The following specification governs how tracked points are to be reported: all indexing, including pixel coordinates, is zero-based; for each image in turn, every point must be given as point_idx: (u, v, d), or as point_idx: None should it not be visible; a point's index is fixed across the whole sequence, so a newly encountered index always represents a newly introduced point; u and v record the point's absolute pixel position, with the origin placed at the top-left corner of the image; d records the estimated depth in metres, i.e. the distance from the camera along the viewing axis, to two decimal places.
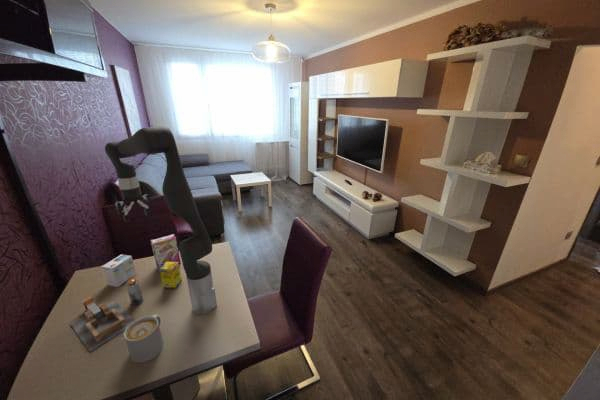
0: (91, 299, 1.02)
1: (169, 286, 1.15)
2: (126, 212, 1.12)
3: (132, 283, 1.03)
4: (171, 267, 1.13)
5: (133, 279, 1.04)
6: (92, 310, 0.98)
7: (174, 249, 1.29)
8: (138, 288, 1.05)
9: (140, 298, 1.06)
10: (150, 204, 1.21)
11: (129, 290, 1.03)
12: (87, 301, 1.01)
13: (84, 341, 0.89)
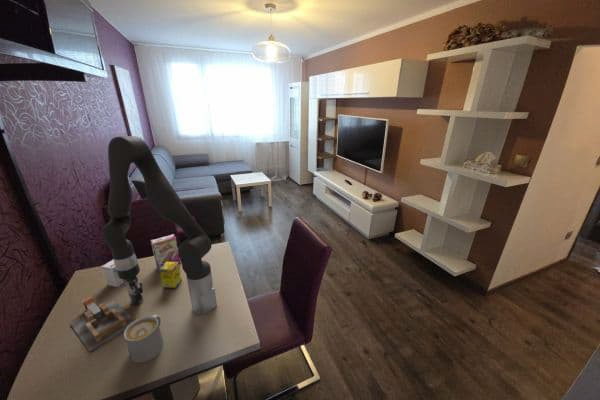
0: (91, 299, 1.02)
1: (169, 286, 1.15)
2: None
3: None
4: (171, 267, 1.13)
5: None
6: (92, 310, 0.98)
7: (174, 249, 1.29)
8: None
9: None
10: None
11: (129, 290, 1.03)
12: (87, 301, 1.01)
13: (84, 341, 0.89)
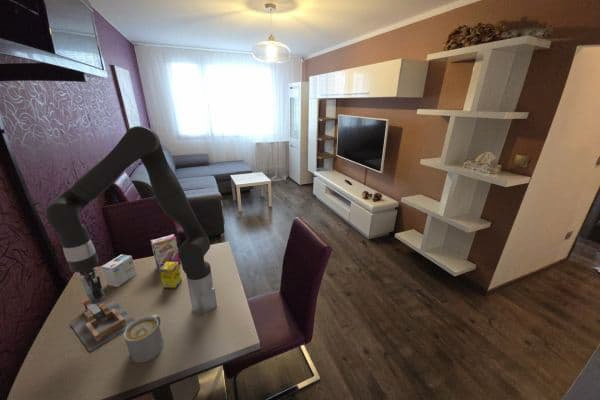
0: None
1: (169, 286, 1.15)
2: None
3: None
4: (171, 267, 1.13)
5: None
6: (92, 310, 0.98)
7: (174, 249, 1.29)
8: None
9: None
10: None
11: (85, 286, 0.85)
12: (87, 301, 1.01)
13: (84, 341, 0.89)
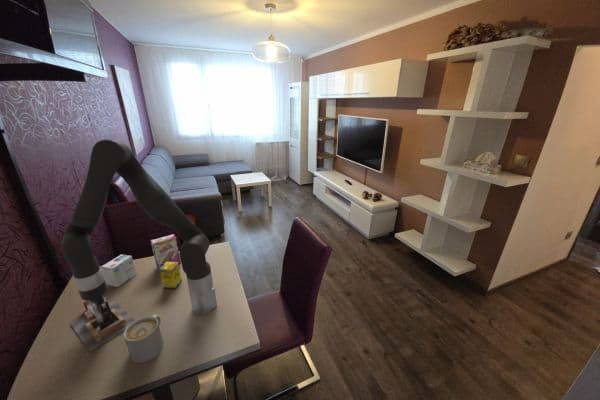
0: None
1: (169, 286, 1.15)
2: None
3: None
4: (171, 267, 1.13)
5: None
6: (92, 310, 0.98)
7: (174, 249, 1.29)
8: None
9: (110, 323, 0.93)
10: None
11: (96, 315, 0.90)
12: (87, 301, 1.01)
13: (84, 341, 0.89)
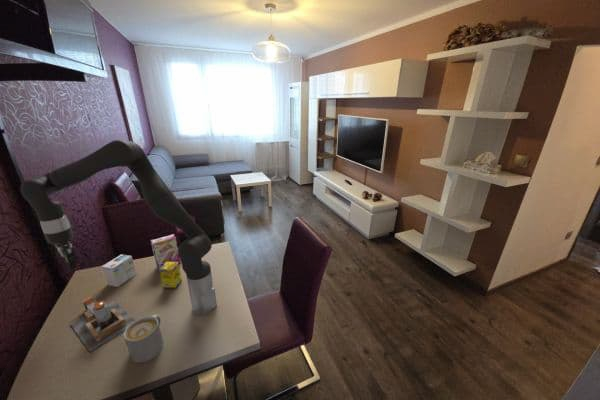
0: (91, 299, 1.02)
1: (169, 286, 1.15)
2: None
3: (100, 307, 0.90)
4: (171, 267, 1.13)
5: (101, 302, 0.91)
6: (92, 310, 0.98)
7: (174, 249, 1.29)
8: (107, 312, 0.92)
9: (110, 323, 0.93)
10: None
11: (96, 315, 0.90)
12: (87, 301, 1.01)
13: (84, 341, 0.89)
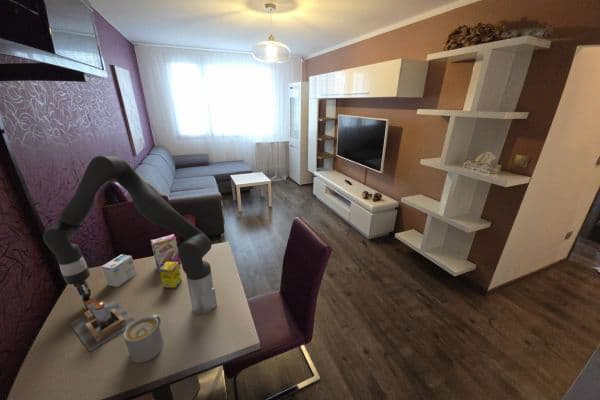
0: (92, 300, 1.02)
1: (169, 286, 1.15)
2: None
3: (100, 307, 0.90)
4: (171, 267, 1.13)
5: (101, 302, 0.91)
6: None
7: (174, 249, 1.29)
8: (107, 312, 0.92)
9: (110, 323, 0.93)
10: None
11: (96, 315, 0.90)
12: (88, 302, 1.01)
13: (84, 341, 0.89)
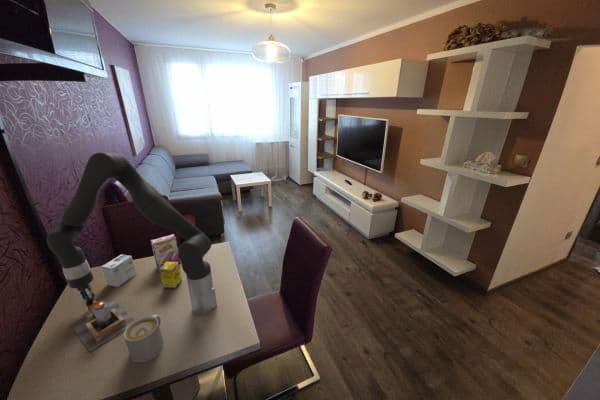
0: None
1: (169, 286, 1.15)
2: None
3: (100, 307, 0.90)
4: (171, 267, 1.13)
5: (101, 302, 0.91)
6: None
7: (174, 249, 1.29)
8: (107, 312, 0.92)
9: (110, 323, 0.93)
10: None
11: (96, 315, 0.90)
12: (91, 306, 0.99)
13: (84, 341, 0.89)
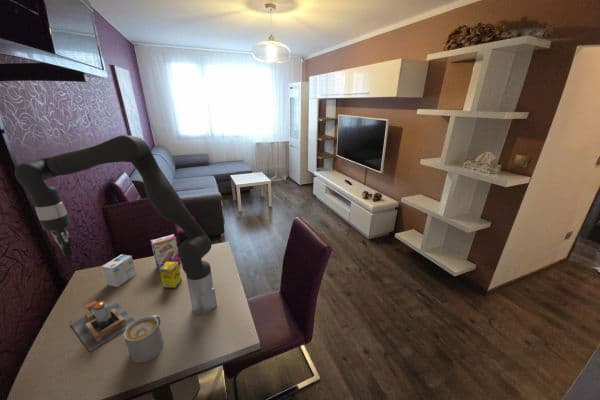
0: None
1: (169, 286, 1.15)
2: None
3: (100, 307, 0.90)
4: (171, 267, 1.13)
5: (101, 302, 0.91)
6: None
7: (174, 249, 1.29)
8: (107, 312, 0.92)
9: (110, 323, 0.93)
10: None
11: (96, 315, 0.90)
12: (91, 306, 0.99)
13: (84, 341, 0.89)
